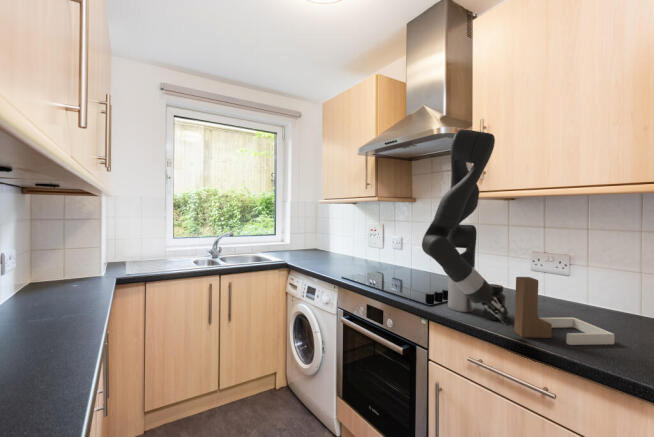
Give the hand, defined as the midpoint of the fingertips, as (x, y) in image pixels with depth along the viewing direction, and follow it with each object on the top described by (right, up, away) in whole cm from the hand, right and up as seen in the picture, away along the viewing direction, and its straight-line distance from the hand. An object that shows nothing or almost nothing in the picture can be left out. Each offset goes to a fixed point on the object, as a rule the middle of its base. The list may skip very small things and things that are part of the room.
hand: (508, 323), depth 97 cm
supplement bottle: (+4, -4, +15) cm, 16 cm away
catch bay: (+21, -4, +1) cm, 21 cm away
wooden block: (+8, -4, +1) cm, 9 cm away
